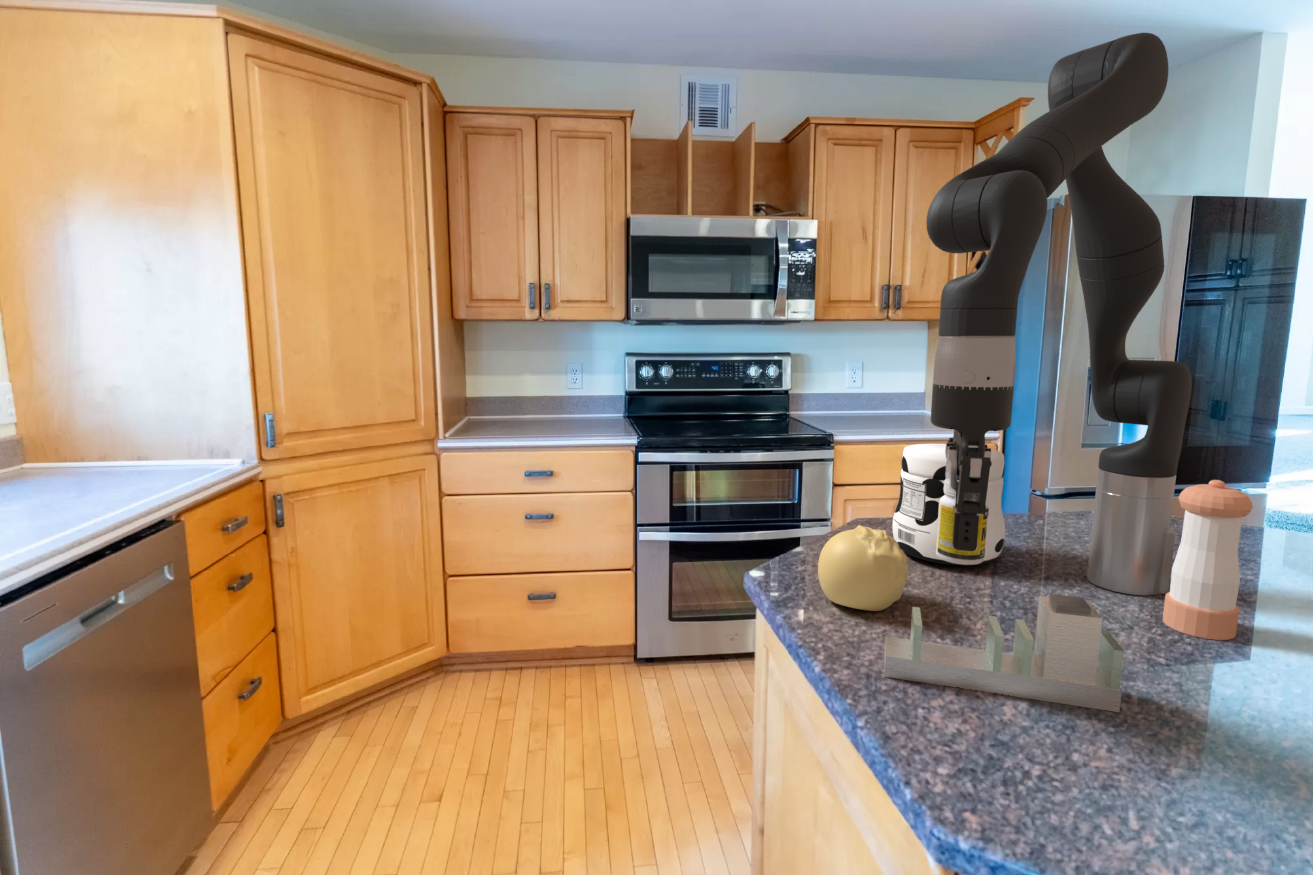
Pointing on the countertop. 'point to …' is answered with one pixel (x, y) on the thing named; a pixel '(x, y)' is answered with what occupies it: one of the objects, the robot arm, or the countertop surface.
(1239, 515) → the salt shaker
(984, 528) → the supplement bottle
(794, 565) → the countertop surface
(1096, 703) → the desk organizer
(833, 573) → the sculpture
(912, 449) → the milk container
